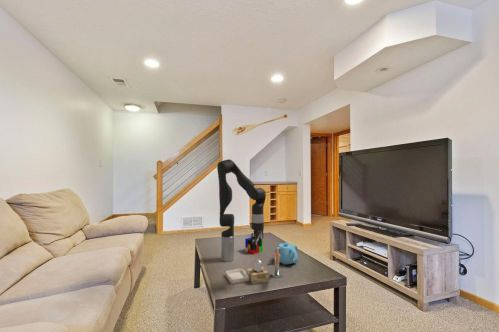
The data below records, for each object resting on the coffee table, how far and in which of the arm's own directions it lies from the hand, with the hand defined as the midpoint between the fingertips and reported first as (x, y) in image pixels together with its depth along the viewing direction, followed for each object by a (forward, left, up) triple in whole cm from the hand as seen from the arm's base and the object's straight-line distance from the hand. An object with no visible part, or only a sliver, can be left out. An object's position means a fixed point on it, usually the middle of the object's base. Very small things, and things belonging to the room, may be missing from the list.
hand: (257, 248), depth 138 cm
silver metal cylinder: (0, 0, -18) cm, 18 cm away
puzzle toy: (-46, +17, -19) cm, 53 cm away
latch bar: (+5, +11, -7) cm, 13 cm away
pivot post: (0, +13, -18) cm, 23 cm away
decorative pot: (-17, +30, -19) cm, 39 cm away
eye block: (0, 0, -18) cm, 18 cm away
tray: (-6, -11, -18) cm, 22 cm away
